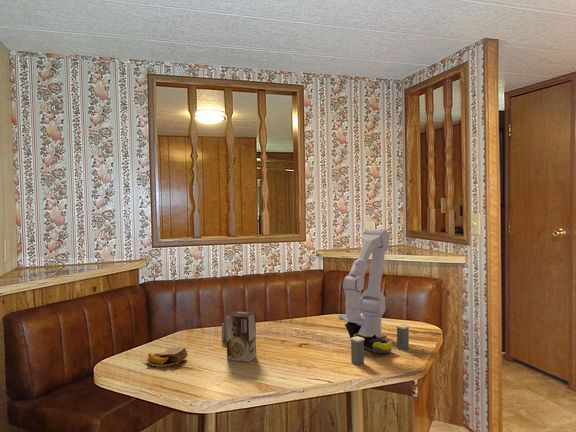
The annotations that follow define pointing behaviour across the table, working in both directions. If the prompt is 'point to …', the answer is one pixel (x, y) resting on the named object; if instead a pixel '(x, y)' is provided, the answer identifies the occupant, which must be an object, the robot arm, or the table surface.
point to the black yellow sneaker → (376, 344)
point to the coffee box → (241, 336)
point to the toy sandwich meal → (167, 357)
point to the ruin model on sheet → (224, 333)
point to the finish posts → (358, 342)
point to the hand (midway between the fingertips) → (353, 341)
